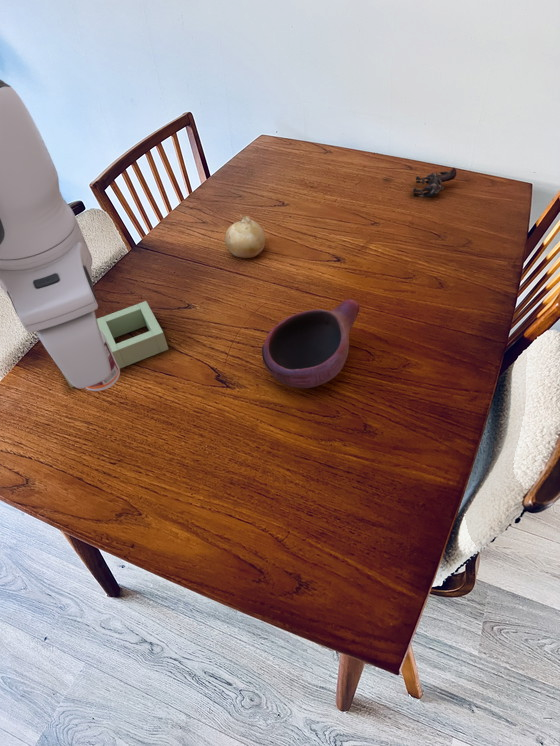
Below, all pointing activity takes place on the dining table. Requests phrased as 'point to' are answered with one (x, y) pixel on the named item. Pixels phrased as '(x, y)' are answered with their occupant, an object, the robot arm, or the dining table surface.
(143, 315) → the holder
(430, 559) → the dining table surface
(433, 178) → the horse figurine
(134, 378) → the dining table surface
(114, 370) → the pill bottle
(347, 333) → the bowl
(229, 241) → the onion
